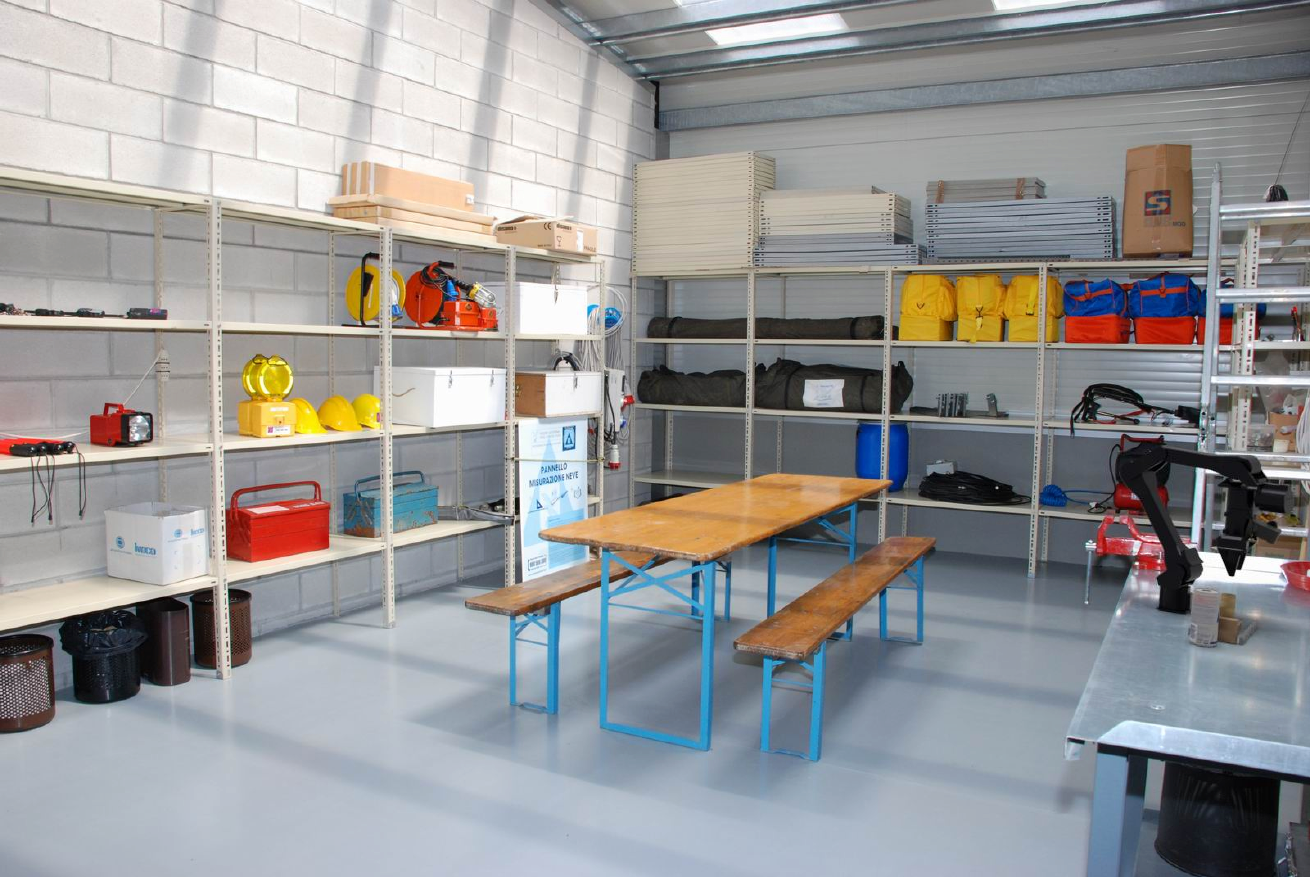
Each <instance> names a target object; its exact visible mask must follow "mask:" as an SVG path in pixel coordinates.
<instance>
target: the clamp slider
mask: <svg viewBox="0 0 1310 877" xmlns="http://www.w3.org/2000/svg"><path fill="white" fill-rule="evenodd" d="M1220 595H1221V598H1220V611H1219V624H1218V637H1217V641H1218V642H1219V641H1220V642H1224V643H1230V644H1236V643H1237V642H1238V634H1239V633H1240V632H1241V631H1242V630H1243V620H1240V619H1238V618H1235V611H1236V601H1237V600H1236V599H1237V598H1236V597H1237V595H1236V594H1233V593H1228V592H1224V593H1223V592H1221V593H1220Z"/></svg>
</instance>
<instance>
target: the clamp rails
mask: <svg viewBox="0 0 1310 877" xmlns="http://www.w3.org/2000/svg"><path fill="white" fill-rule="evenodd" d="M1258 624H1259V622H1258V620H1255V619H1253V620H1252V622H1251V623H1250V624H1249V626H1247V628H1246V629H1244V632H1243V633H1242V634H1241V635H1240V636H1239V638H1238V645H1239V644H1240V646H1244V644H1245V643H1246V642H1247V641H1248V640H1249V638H1250V637H1251V636H1252V635H1253V633H1254V632H1255V631H1256V630H1257V629H1258ZM1254 630H1255V631H1254ZM1187 635H1188V636H1190V627H1189V628H1188V634H1187ZM1250 635H1251V636H1250ZM1248 637H1249V638H1248Z"/></svg>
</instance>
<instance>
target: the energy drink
mask: <svg viewBox="0 0 1310 877" xmlns="http://www.w3.org/2000/svg"><path fill="white" fill-rule="evenodd" d="M1220 592H1221V591H1220V590H1218V589H1213V588H1209V587H1194V590H1193V592H1192V593H1193V597H1192V609H1191V612H1190V625H1189V628H1190V635H1189V638H1188V640H1189V642H1190V644H1193V645H1195V646H1199V647H1204V648H1214V647H1217V645H1218V640H1217V637H1218V624H1219V613H1220V600H1221V593H1220ZM1213 646H1214V647H1213Z"/></svg>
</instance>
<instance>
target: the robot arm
mask: <svg viewBox="0 0 1310 877" xmlns="http://www.w3.org/2000/svg"><path fill="white" fill-rule="evenodd" d="M1167 463H1169V464H1171V463H1172V464H1176V465H1181V466H1187V467H1192V468H1198V469H1201V470H1209V471H1212V472H1214V473H1216V474H1218V475H1220V476H1223V477H1225V478H1224V480H1222V481H1221V482H1220V483H1218V484H1217V487H1218V488H1224V489H1227V490H1226V491H1227V492H1226V506H1225V511H1224V512H1223V517H1224V518H1225V519H1224V528H1223V529H1222V534H1220V535H1219V536H1217V537H1216V538H1215V547H1216V550H1217V551H1218V554H1219V555H1220V558H1221V560H1222V563H1223V565H1224V568H1225V570H1226V573H1227V575H1228V576H1229V577H1231V578H1232V577H1233V578H1234V577H1235V575H1236V572H1237V571H1242V569H1243V566H1244V564H1245V560H1246V557H1247V555H1248V552H1249V549H1250V548H1252V547H1253V546H1255V545H1256V544H1257V543H1258V540H1260V539H1261V540H1262V541H1266V543H1267V544H1271V545H1275V544H1276V543H1277V541H1278V539H1279V537H1280V535H1281V534H1282V532H1283V530H1282V529H1281V528H1279V523H1278V521H1276V520H1274V519H1270V520H1269V521H1267V522H1265V521H1262V520H1259V519H1257V518H1258V516H1257V514H1256V512H1255V508H1258V510H1259V511H1260V512H1267V513H1275V514H1280V515H1281V514H1282V515H1291V513H1292V511H1293V509H1294V506H1295V497H1294V493H1293V490H1292V484H1288V483H1284V484H1283V483H1282V484H1281V483H1273V482H1271V481H1270V479H1269V478H1268V477H1267V475H1266V473H1265V472H1264V471H1263V469H1262V464H1261V462H1260V460H1259V459H1258V457H1257V456H1255V455H1252V454H1215V453H1210V452H1205V451H1198V450H1192V449H1185V448H1182V447H1176V446H1172V445H1168V444H1165V445H1163V444H1162V445H1158V446H1157V445H1156V446H1155V447H1154V448H1153V449H1152V450H1150V451H1149V452H1147V453H1145V454H1144V455H1142V456H1139V457H1138V458H1136V459H1135V460H1132V461H1127V462H1125V463H1123V464H1122V465H1121V467H1120V469H1119V472H1118V473H1119V476H1120V480H1121V481H1122V482H1123V483H1124V485H1125V487H1126V488H1127V489H1128V490H1129V491H1130V492H1131V493H1133V495H1135V496H1136V498H1138V500H1139V502H1140V504H1141V507H1142V509H1143V511H1144V512H1145V514H1146V517H1147V519H1148V521H1149V522H1150V524H1151V526H1152V528H1153V530H1154V533H1155V535H1156V537H1157V539H1158V541H1159V543H1160V544H1161V548H1162V549H1163V563H1164V566H1165V570H1164V571H1163V572H1161V573H1160V574H1159V575H1157V576H1156V577H1155V579H1156V583H1157V585H1158V586H1160V587H1159V598H1158V599H1159V600H1158V605H1157V607H1156V610H1159V611H1165V612H1171V613H1176V614H1182V615H1183V614H1184V615H1185V614H1187V613H1188V612H1190V610H1192V597H1193V592H1191V590H1192V587H1191V586H1193V585H1194V583H1195V582H1196V580H1197V579H1198V578H1200V577H1201V576H1202V574H1203V571H1204V566H1203V563H1205V561H1204V560H1203V559H1201V557H1200V554H1199V552H1198V550H1197V547H1195V546H1194V547H1188V546H1187V544H1185V543H1184V542H1183V540H1182V537H1181V535H1180V534H1179V532H1178V530H1177V528H1176V526H1175V524H1174V522H1173V520H1172V518H1171V516H1170V513H1169V512H1168V509H1167V508H1166V505H1165V503H1164V502H1163V500H1162V498H1161V496H1160V494H1159V492H1158V478H1157V476H1156V473H1157V472H1158V471H1159V470H1161V469H1162V468H1163V467H1164V466H1165V465H1167ZM1252 539H1253V540H1252Z"/></svg>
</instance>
